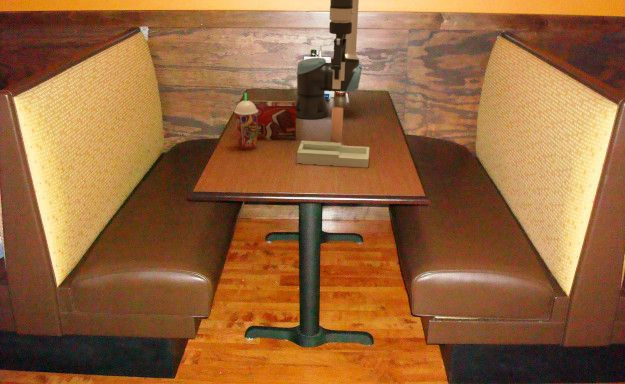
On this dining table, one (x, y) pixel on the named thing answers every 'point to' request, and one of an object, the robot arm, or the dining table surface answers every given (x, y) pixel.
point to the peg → (337, 125)
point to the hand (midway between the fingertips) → (338, 84)
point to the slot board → (344, 153)
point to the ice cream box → (276, 120)
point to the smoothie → (246, 124)
